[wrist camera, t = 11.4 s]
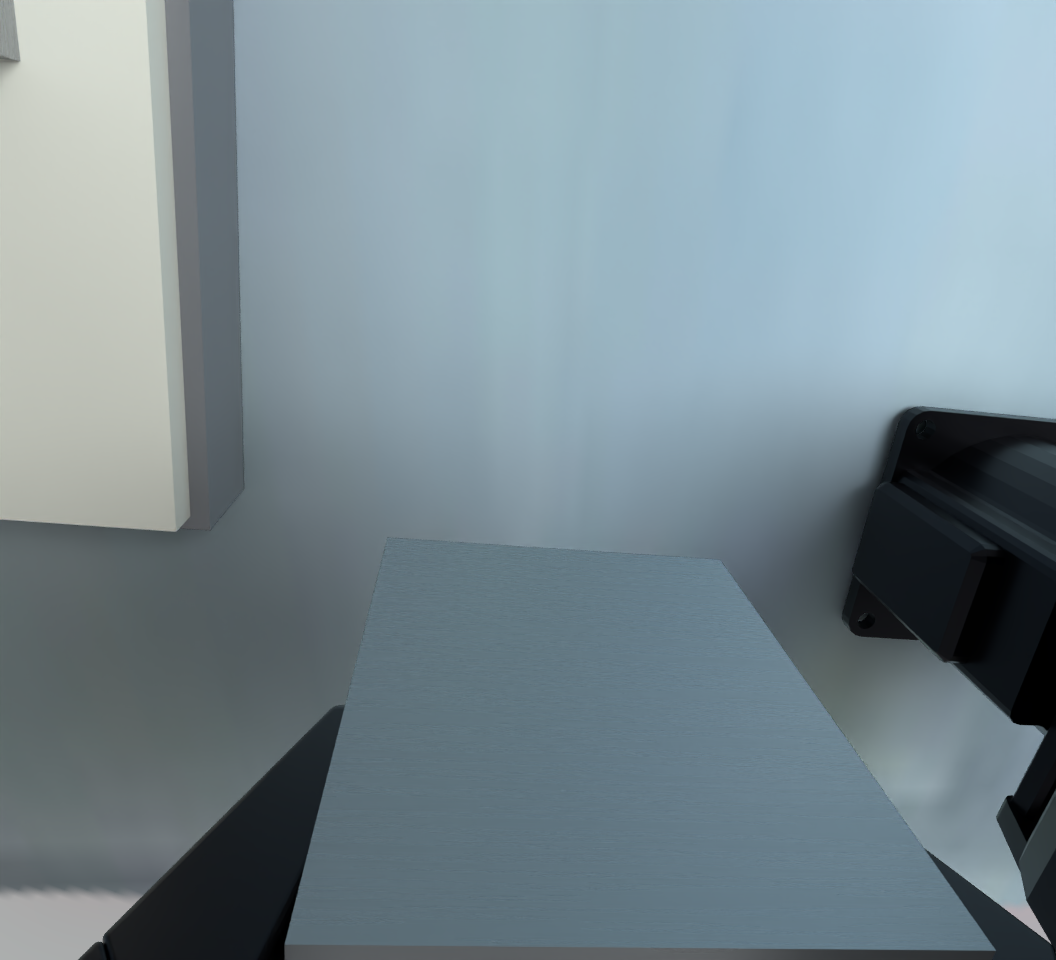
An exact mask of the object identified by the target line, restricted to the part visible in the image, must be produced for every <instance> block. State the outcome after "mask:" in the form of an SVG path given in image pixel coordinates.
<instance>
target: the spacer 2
mask: <svg viewBox="0 0 1056 960" xmlns="http://www.w3.org/2000/svg"><path fill="white" fill-rule="evenodd" d="M995 952H996V950H995V948H994V947H993V946H992V944H991V943H990V941H989V940H988V938H987V937H986V936H985V934H984V933H983V931H982V930H981V929H980V927H979V926H978V924H977V923H976V921H975V920H974V919H973V917H972V916H971V914H970V913H969V912H968V910H967V909H966V907H965V906H964V904H963V903H962V902H961V900H960V899H959V897H958V896H957V895H956V893H955V892H954V890H953V889H952V887H951V886H950V885H949V883H948V882H947V880H946V879H945V878H944V876H943V875H942V873H941V872H940V870H939V869H938V868H937V866H936V865H935V863H934V862H933V861H932V859H931V858H930V856H929V855H928V853H927V852H926V851H925V849H924V848H923V846H922V845H921V844H920V842H919V841H918V839H917V838H916V836H915V835H914V834H913V832H912V831H911V829H910V828H909V827H908V825H907V824H906V822H905V821H904V819H903V818H902V817H901V815H900V814H899V812H898V811H897V810H896V808H895V807H894V805H893V804H892V802H891V801H890V800H889V798H888V797H887V795H886V794H885V793H884V791H883V790H882V788H881V787H880V785H879V784H878V783H877V781H876V780H875V778H874V777H873V776H872V774H871V773H870V771H869V770H868V768H867V767H866V766H865V764H864V763H863V761H862V760H861V759H860V757H859V756H858V754H857V753H856V751H855V750H854V749H853V747H852V746H851V744H850V743H849V741H848V740H847V739H846V737H845V736H844V734H843V733H842V732H841V730H840V729H839V727H838V726H837V724H836V723H835V722H834V720H833V719H832V717H831V716H830V715H829V713H828V712H827V710H826V709H825V707H824V706H823V705H822V703H821V702H820V700H819V699H818V698H817V696H816V695H815V693H814V692H813V690H812V689H811V688H810V686H809V685H808V683H807V682H806V681H805V679H804V678H803V676H802V675H801V673H800V672H799V671H798V669H797V668H796V666H795V665H794V664H793V662H792V661H791V659H790V658H789V656H788V655H787V654H786V652H785V651H784V649H783V648H782V647H781V645H780V644H779V642H778V641H777V639H776V638H775V637H774V635H773V634H772V632H771V631H770V630H769V628H768V627H767V625H766V624H765V622H764V621H763V620H762V618H761V617H760V615H759V614H758V613H757V611H756V610H755V608H754V607H753V605H752V604H751V603H750V601H749V600H748V598H747V597H746V596H745V594H744V593H743V591H742V590H741V588H740V587H739V586H738V584H737V583H736V581H735V580H734V579H733V577H732V576H731V574H730V573H729V571H728V570H727V569H726V567H725V566H724V564H723V563H722V562H721V560H717V559H702V558H687V557H672V556H657V555H642V554H627V553H612V552H597V551H582V550H567V549H552V548H537V547H522V546H507V545H492V544H477V543H462V542H447V541H432V540H417V539H402V538H387V542H386V546H385V550H384V554H383V557H382V561H381V565H380V569H379V573H378V577H377V581H376V585H375V589H374V593H373V597H372V601H371V605H370V609H369V613H368V617H367V621H366V625H365V629H364V633H363V637H362V641H361V644H360V648H359V652H358V656H357V660H356V664H355V668H354V672H353V676H352V680H351V684H350V688H349V692H348V696H347V700H346V704H345V708H344V712H343V716H342V720H341V724H340V728H339V731H338V735H337V739H336V743H335V747H334V751H333V755H332V759H331V763H330V767H329V771H328V775H327V779H326V783H325V787H324V791H323V795H322V799H321V803H320V807H319V811H318V815H317V819H316V822H315V826H314V830H313V834H312V838H311V842H310V846H309V850H308V854H307V858H306V862H305V866H304V870H303V874H302V878H301V882H300V886H299V890H298V894H297V898H296V902H295V906H294V909H293V913H292V917H291V921H290V925H289V929H288V933H287V937H286V941H285V960H992V959H993V956H994V954H995Z"/></svg>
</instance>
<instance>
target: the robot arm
mask: <svg viewBox="0 0 1056 960" xmlns="http://www.w3.org/2000/svg"><path fill="white" fill-rule="evenodd" d="M925 420H926V428H925V429H924V431H923V432H921V433H920V434H918V435H916V428H917V426H918V425H919V424H920V423H921V422H923V421H925ZM852 572H853V574H854V575H853V579H852V582H851V585H850V589H849V592H848V595H847V599H846V602H845V606H844V609H843V612H842V620H843V622H844V624H845V625H846V626H847V627H848V628H849V630H850V631H851V632H852V633H854V634H855V635H857V636H861V637H876V638H892V639H909V640H920V641H921V642H922V643H923V644H924V645H925V646H926V647H927V648H928V649H929V650H930V651H931V652H932V653H933V654H934V655H935V656H936V657H937V658H938V659H939V660H941V661H943V662H945V663H951V664H952V665H953V666H954V667H956V668H957V669H958V670H959V671H960V672H961V673H962V674H963V675H964V676H965V677H966V678H967V679H968V680H969V681H970V682H971V683H972V684H973V685H974V686H975V687H976V688H978V689H979V690H980V691H981V692H982V693H983V694H984V695H985V696H986V697H987V698H988V699H989V700H990V701H991V702H992V703H993V704H994V705H995V706H996V707H997V708H998V709H999V710H1001V711H1002V712H1003V713H1004V714H1005V715H1006V716H1007V717H1008V718H1009V719H1010V720H1011V721H1012V722H1013V723H1016V724H1019V725H1034V726H1035V727H1036V728H1037V729H1038V730H1039V731H1040V732H1041V733H1042V734H1044V735H1045V736H1044V738H1043V740H1042V742H1041V744H1040V746H1039V748H1038V750H1037V752H1036V753H1035V755H1034V757H1033V759H1032V761H1031V763H1030V765H1029V767H1028V769H1027V771H1026V773H1025V775H1024V776H1023V778H1022V780H1021V782H1020V784H1019V786H1018V788H1017V790H1016V792H1015V794H1014V796H1012V795H1011V796H1007V797H1006V799H1005V801H1004V802H1003V804H1002V806H1001V808H1000V810H999V812H998V814H997V816H996V818H997V821H998V823H999V826H1000V828H1001V830H1002V832H1003V835H1004V837H1005V839H1006V841H1007V843H1008V846H1009V848H1010V850H1011V852H1012V855H1013V857H1014V859H1015V861H1016V863H1017V866H1018V868H1019V870H1020V872H1021V876H1022V881H1023V886H1024V891H1025V896H1026V901H1027V902H1028V904H1029V906H1030V908H1031V909H1032V911H1033V913H1034V914H1035V916H1036V918H1037V919H1038V921H1039V923H1040V925H1041V927H1042V928H1043V930H1044V932H1045V933H1046V935H1047V937H1048V939H1049V940H1050V942H1051V944H1050V943H1049V942H1048V941H1046V940H1045V939H1044V938H1042V937H1041V936H1040V935H1038V934H1037V933H1036V932H1034V931H1033V930H1032V929H1030V928H1029V927H1028V926H1026V925H1025V924H1024V923H1023V922H1021V921H1020V920H1018V919H1017V918H1016V917H1015V916H1013V915H1012V914H1011V913H1009V912H1008V911H1007V910H1005V909H1004V908H1003V907H1001V906H1000V905H999V904H997V903H996V902H995V901H993V900H992V899H991V898H989V897H988V896H987V895H985V894H984V893H983V892H981V891H980V890H979V889H977V888H976V887H975V886H973V885H972V884H971V883H969V882H968V881H967V880H965V879H964V878H963V877H962V876H960V875H959V874H958V873H956V872H955V871H954V870H952V869H951V868H950V867H948V866H947V865H946V864H944V863H943V862H942V861H940V860H939V859H938V858H936V857H935V856H934V855H932V854H931V853H930V852H928V851H927V850H926V849H925V851H926V852H927V853H928V855H929V856H930V858H931V859H932V861H933V862H934V863H935V865H936V866H937V868H938V869H939V870H940V872H941V873H942V875H943V876H944V878H945V879H946V880H947V882H948V883H949V885H950V886H951V887H952V889H953V890H954V892H955V893H956V895H957V896H958V897H959V899H960V900H961V902H962V903H963V904H964V906H965V907H966V909H967V910H968V912H969V913H970V914H971V916H972V917H973V919H974V920H975V921H976V923H977V924H978V926H979V927H980V929H981V930H982V931H983V933H984V934H985V936H986V937H987V938H988V940H989V941H990V943H991V944H992V946H993V947H994V948H995V950H996V952H995V954H994V956H993V959H992V960H1056V419H1046V418H1036V417H1026V416H1015V415H1005V414H995V413H984V412H974V411H964V410H954V409H943V408H933V407H923V406H922V407H914V408H912V409H910V410H908V411H907V412H906V413H905V414H904V415H903V416H902V417H901V419H900V421H899V423H898V426H897V430H896V433H895V437H894V440H893V443H892V447H891V450H890V453H889V457H888V460H887V464H886V467H885V470H884V474H883V477H882V480H881V484H880V486H879V487H878V488H877V489H876V490H875V493H874V497H873V500H872V504H871V507H870V510H869V514H868V517H867V521H866V524H865V527H864V531H863V534H862V538H861V541H860V544H859V548H858V551H857V555H856V558H855V561H854V565H853V568H852ZM865 613H868V615H867V617H866V618H865V619H863V620H862V621H858V619H859V617H860V616H861V615H863V614H865ZM344 708H345V706H344V705H339V706H335V707H333V708H332V709H330V710H329V711H328V712H327V713H326V714H325V715H324V716H323V717H322V718H321V719H320V720H319V721H318V722H317V723H316V724H315V725H314V726H313V727H312V728H311V729H310V730H309V731H308V732H307V733H306V734H305V735H304V736H303V737H302V738H301V739H300V740H299V741H298V742H297V743H296V744H295V745H294V746H293V747H292V748H291V749H290V750H289V751H288V752H287V753H286V754H285V755H284V756H283V757H282V758H281V759H280V760H279V761H278V762H277V763H276V764H275V765H274V766H273V767H272V768H271V769H270V770H269V771H268V772H267V773H266V774H265V775H264V776H263V777H262V778H261V779H260V780H259V781H258V782H257V783H256V784H255V785H254V786H253V787H252V788H251V789H250V790H249V791H248V792H247V793H246V794H245V795H244V796H243V797H242V798H241V799H240V800H239V801H238V802H237V803H236V804H235V805H234V806H233V807H232V808H231V809H230V810H229V811H228V812H227V813H226V814H225V815H224V816H223V817H222V818H221V819H220V820H219V821H218V822H217V823H216V824H215V825H214V826H213V827H212V828H211V829H210V830H209V831H208V832H207V833H206V834H205V835H204V836H203V837H202V838H201V839H200V840H199V841H198V842H197V843H196V844H195V845H194V846H193V847H192V848H191V849H190V850H189V851H188V852H187V853H186V854H185V855H184V856H183V857H182V858H181V859H180V860H179V861H178V862H177V863H176V864H175V865H174V866H173V867H171V868H170V869H169V870H168V871H167V872H166V873H165V874H164V875H163V876H162V877H161V878H160V879H159V880H158V881H157V882H156V883H155V884H154V885H153V886H152V887H151V888H150V889H149V890H148V891H147V892H146V893H145V894H144V895H143V896H142V897H141V898H140V899H139V900H138V901H137V902H136V903H135V904H134V905H133V906H132V907H131V908H130V909H129V910H128V911H127V912H126V913H125V914H124V915H123V916H122V917H121V918H120V919H119V920H118V921H117V922H116V923H115V924H114V925H113V926H112V927H111V928H110V929H109V930H108V931H107V932H106V933H105V934H104V936H103V943H102V942H96V943H95V944H94V945H92V947H90V949H89V950H88V951H87V952H85V954H83V955H82V956H81V957H80V959H79V960H285V941H286V937H287V933H288V929H289V925H290V921H291V917H292V913H293V909H294V906H295V902H296V898H297V894H298V890H299V886H300V882H301V878H302V874H303V870H304V866H305V862H306V858H307V854H308V850H309V846H310V842H311V838H312V834H313V830H314V826H315V822H316V819H317V815H318V811H319V807H320V803H321V799H322V795H323V791H324V787H325V783H326V779H327V775H328V771H329V767H330V763H331V759H332V755H333V751H334V747H335V743H336V739H337V735H338V731H339V728H340V724H341V720H342V716H343V712H344Z"/></svg>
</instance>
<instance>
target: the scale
mask: <svg viewBox="0 0 1056 960" xmlns="http://www.w3.org/2000/svg"><path fill="white" fill-rule="evenodd" d="M14 8H15V17H16V26H17V35H18V44H19V53H20V61H12V60H5V59H0V519H1V520H16V521H30V522H44V523H58V524H72V525H87V526H101V527H115V528H129V529H143V530H158V531H172V532H176V531H177V530H178V529H179V528H183V529H197V530H211V529H212V528H213V526H214V525H215V524H216V523H217V521H218V520H219V519H220V518H221V517H222V515H223V514H224V513H225V512H226V510H227V509H228V508H229V507H230V506H231V504H232V503H233V502H234V501H235V499H236V498H237V497H238V496H239V494H240V493H241V492H242V491H243V490H244V465H243V420H242V375H241V330H240V286H239V241H238V196H237V151H236V106H235V61H234V16H233V0H14Z"/></svg>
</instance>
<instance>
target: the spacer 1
mask: <svg viewBox="0 0 1056 960" xmlns="http://www.w3.org/2000/svg"><path fill="white" fill-rule="evenodd" d="M0 59H5V60H12V61H20V53H19V44H18V35H17V26H16V17H15V8H14V0H0Z"/></svg>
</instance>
